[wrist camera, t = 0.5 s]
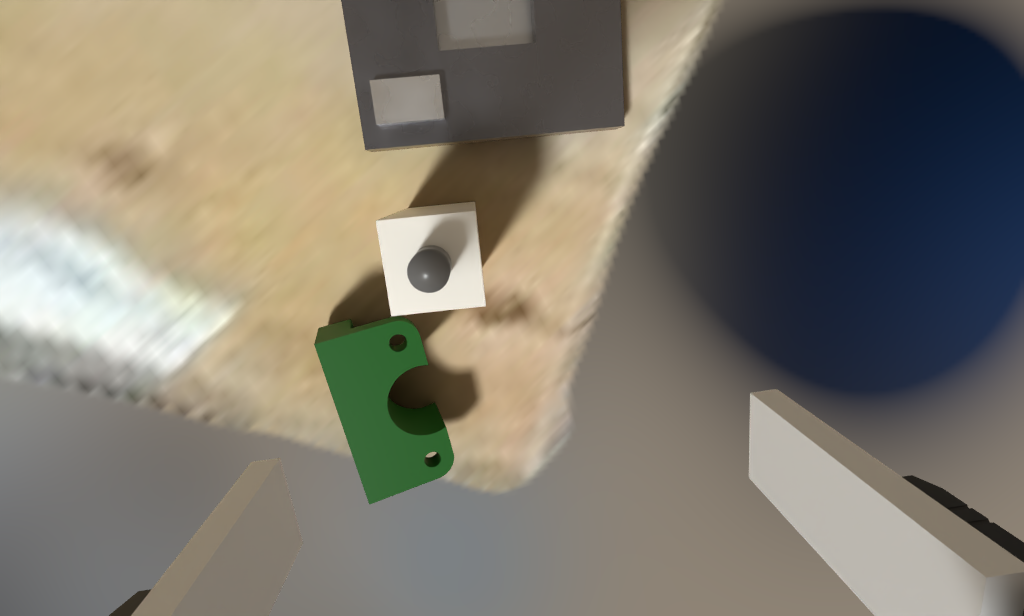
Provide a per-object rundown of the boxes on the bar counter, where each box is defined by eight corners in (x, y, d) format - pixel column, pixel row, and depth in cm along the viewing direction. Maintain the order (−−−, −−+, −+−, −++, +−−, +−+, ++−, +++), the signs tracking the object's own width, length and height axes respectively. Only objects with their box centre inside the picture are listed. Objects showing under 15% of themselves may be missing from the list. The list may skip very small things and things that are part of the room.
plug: (407, 208, 33) (366, 224, 20) (474, 201, 33) (475, 213, 20) (417, 274, 34) (383, 328, 21) (482, 267, 34) (486, 317, 22)
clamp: (430, 397, 41) (461, 485, 34) (358, 421, 40) (376, 519, 33) (399, 277, 34) (431, 359, 27) (309, 301, 32) (319, 395, 25)
